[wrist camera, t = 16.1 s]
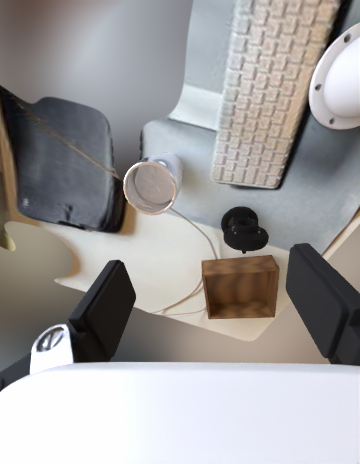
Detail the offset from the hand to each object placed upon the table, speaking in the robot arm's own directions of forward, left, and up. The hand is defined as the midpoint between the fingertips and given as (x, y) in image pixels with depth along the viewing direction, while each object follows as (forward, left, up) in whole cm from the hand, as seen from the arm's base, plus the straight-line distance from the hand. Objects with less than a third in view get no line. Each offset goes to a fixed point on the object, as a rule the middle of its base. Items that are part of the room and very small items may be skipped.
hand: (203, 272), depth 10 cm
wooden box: (-6, +28, -28) cm, 40 cm away
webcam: (-7, +11, -28) cm, 31 cm away
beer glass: (+6, -2, -28) cm, 29 cm away
